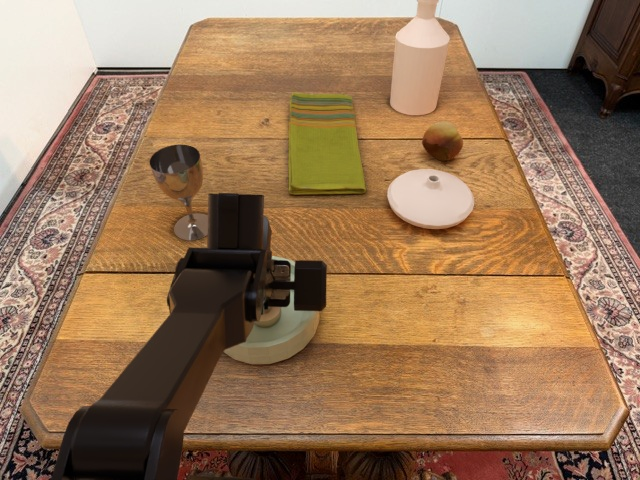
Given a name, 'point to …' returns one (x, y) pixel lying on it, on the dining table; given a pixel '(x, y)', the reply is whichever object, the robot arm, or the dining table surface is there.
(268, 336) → the bowl
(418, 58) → the bottle
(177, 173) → the wine glass
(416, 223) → the flat round vase
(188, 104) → the dining table surface
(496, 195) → the dining table surface
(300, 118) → the dish towel
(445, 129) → the fruit
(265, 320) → the beige piece
